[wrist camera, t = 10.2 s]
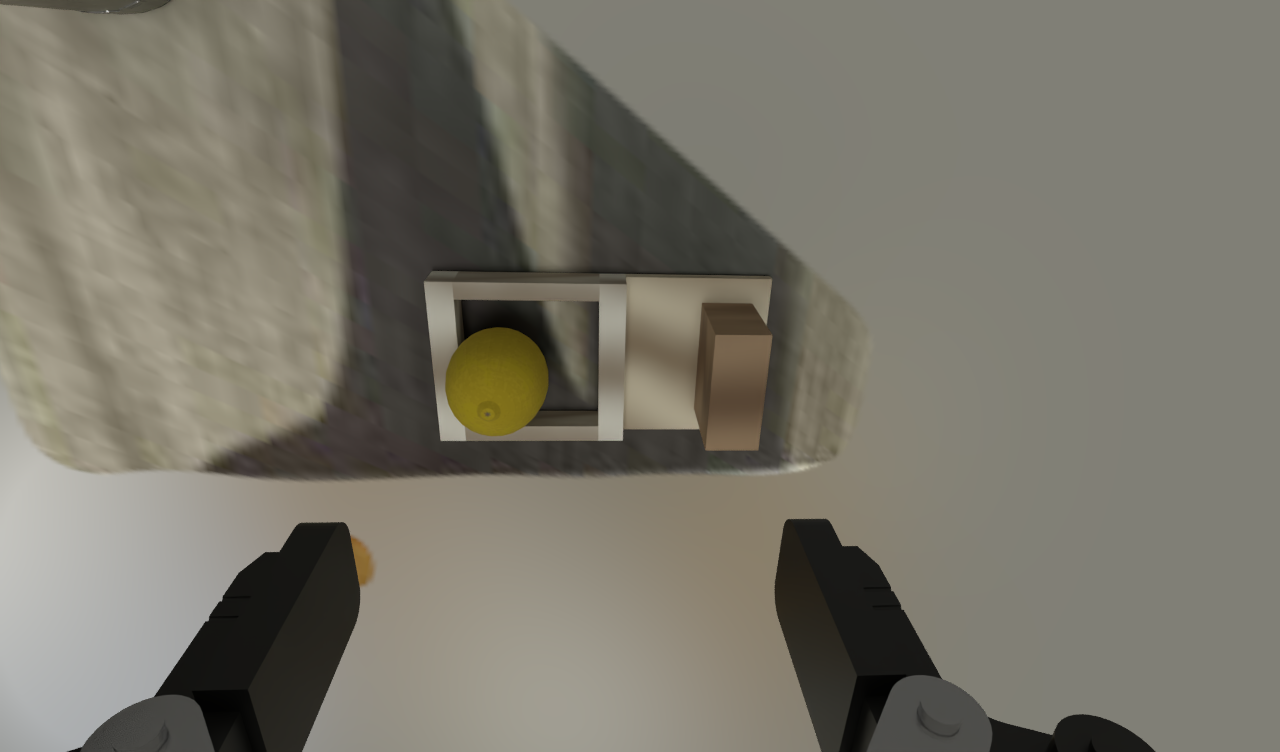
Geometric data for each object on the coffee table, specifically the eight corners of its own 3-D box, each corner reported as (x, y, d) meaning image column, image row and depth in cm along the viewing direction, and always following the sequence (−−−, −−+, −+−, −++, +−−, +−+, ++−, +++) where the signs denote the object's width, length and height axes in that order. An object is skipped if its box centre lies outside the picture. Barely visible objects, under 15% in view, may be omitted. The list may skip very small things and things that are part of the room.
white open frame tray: (431, 271, 39) (407, 303, 33) (769, 275, 40) (795, 308, 35) (447, 424, 43) (427, 474, 38) (752, 424, 44) (772, 472, 39)
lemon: (562, 321, 40) (555, 380, 33) (540, 401, 43) (529, 472, 35) (469, 297, 39) (441, 352, 32) (451, 380, 42) (422, 448, 34)
